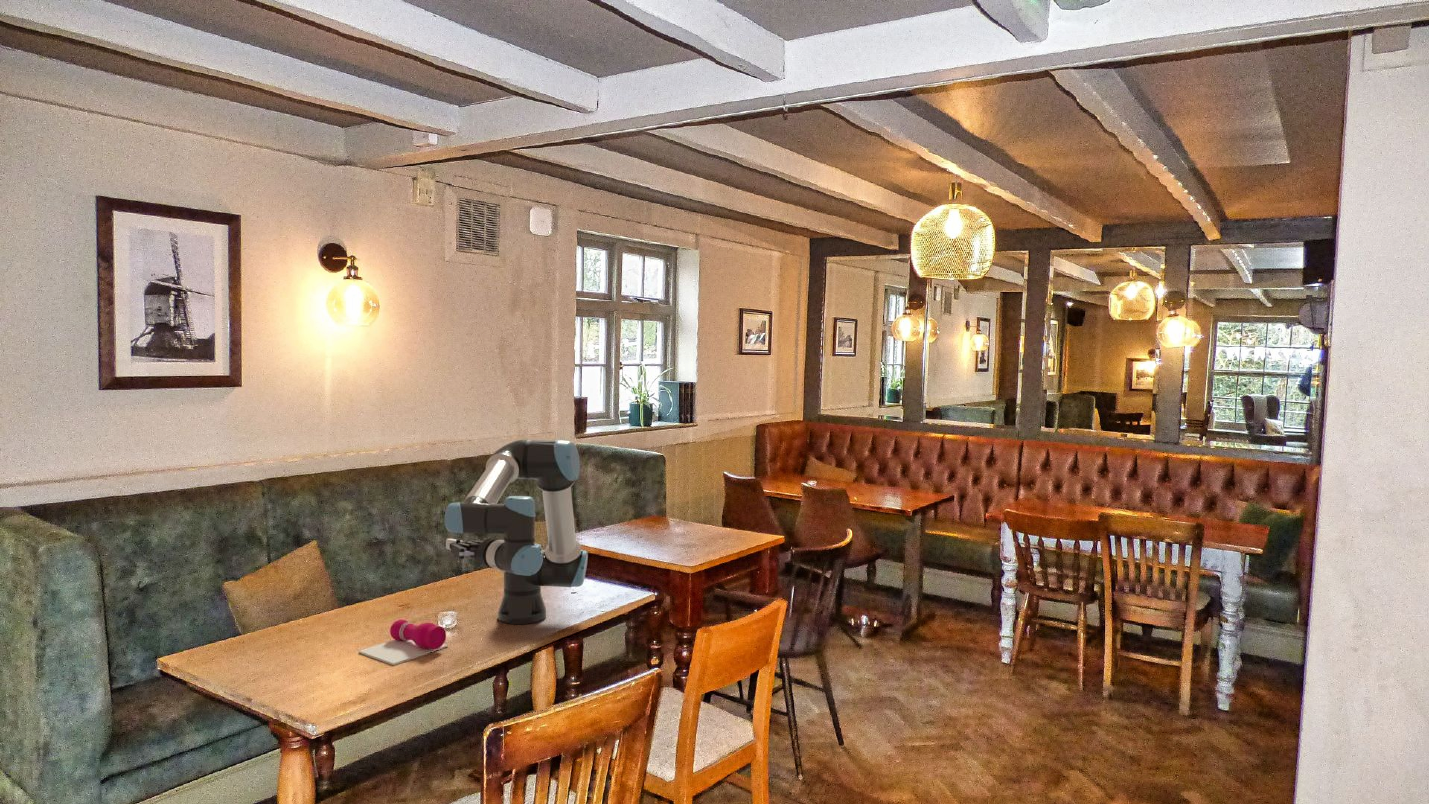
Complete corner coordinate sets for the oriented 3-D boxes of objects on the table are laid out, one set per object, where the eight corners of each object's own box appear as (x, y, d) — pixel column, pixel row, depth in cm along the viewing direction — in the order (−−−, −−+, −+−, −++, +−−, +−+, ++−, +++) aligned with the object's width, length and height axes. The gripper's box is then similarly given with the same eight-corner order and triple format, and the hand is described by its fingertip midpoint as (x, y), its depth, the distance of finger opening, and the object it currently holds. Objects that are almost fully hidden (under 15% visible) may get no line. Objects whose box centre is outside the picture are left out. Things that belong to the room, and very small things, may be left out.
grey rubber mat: (447, 647, 247) (447, 645, 247) (393, 665, 233) (393, 663, 232) (412, 635, 256) (412, 634, 256) (358, 652, 241) (358, 650, 241)
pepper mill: (449, 643, 246) (403, 633, 257) (445, 620, 245) (399, 611, 255) (430, 655, 240) (383, 645, 251) (425, 631, 239) (378, 622, 249)
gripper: (475, 572, 217) (427, 560, 233) (518, 564, 227) (469, 553, 243) (474, 542, 217) (426, 532, 233) (518, 536, 227) (469, 527, 242)
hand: (448, 543), depth 238 cm, fingers closed
